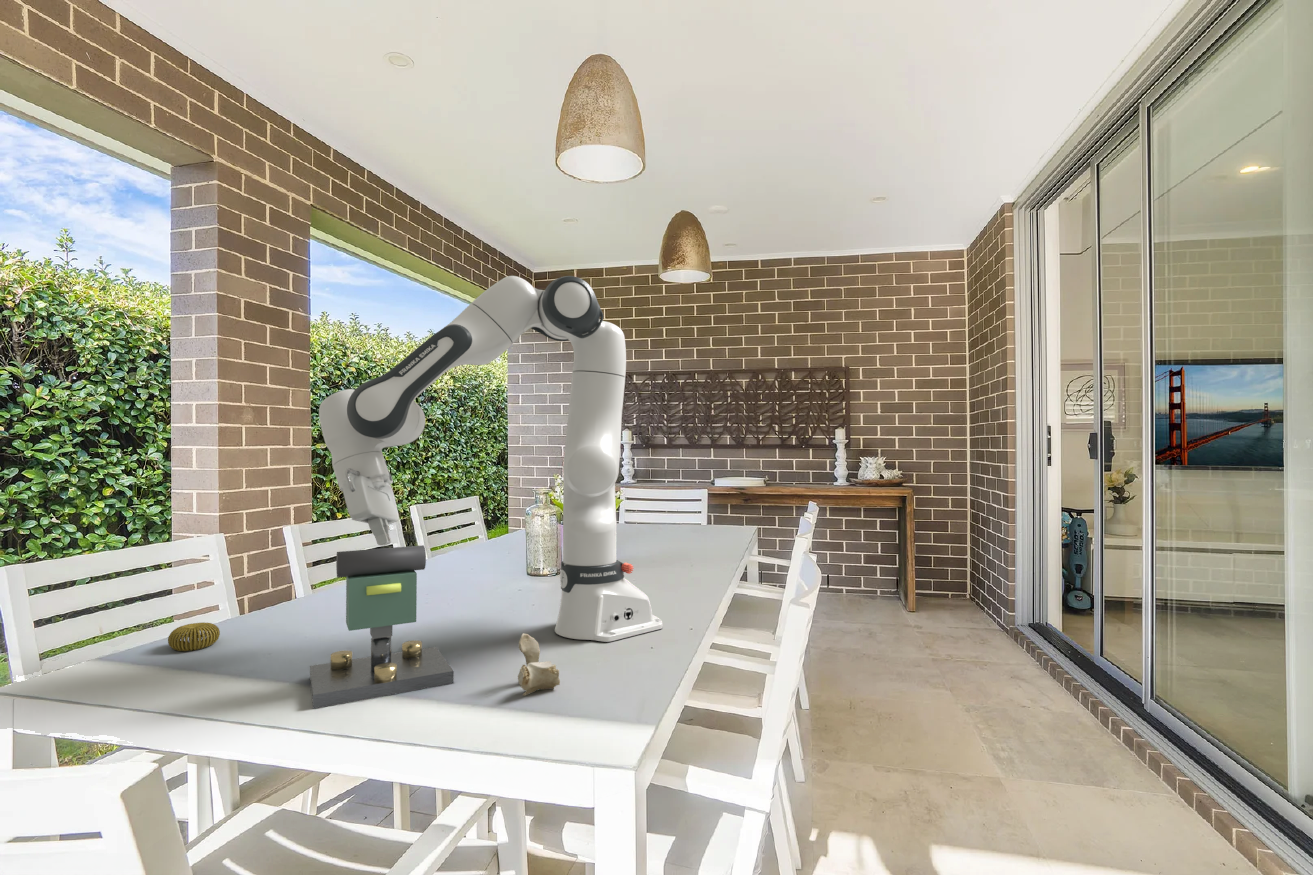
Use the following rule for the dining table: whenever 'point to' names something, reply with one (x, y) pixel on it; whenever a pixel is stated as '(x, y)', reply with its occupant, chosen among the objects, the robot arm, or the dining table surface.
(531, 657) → the bone
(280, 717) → the dining table surface
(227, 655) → the dining table surface
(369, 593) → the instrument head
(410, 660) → the plate
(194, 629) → the sculpture
